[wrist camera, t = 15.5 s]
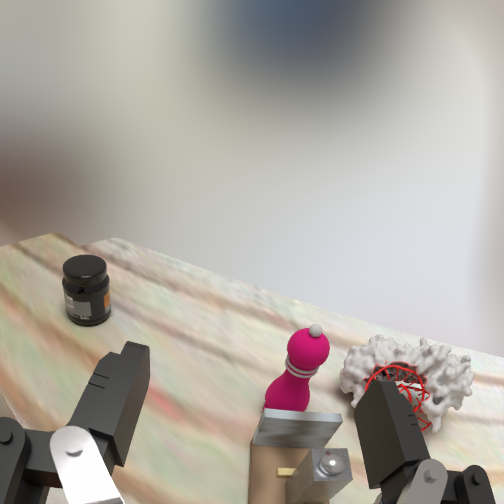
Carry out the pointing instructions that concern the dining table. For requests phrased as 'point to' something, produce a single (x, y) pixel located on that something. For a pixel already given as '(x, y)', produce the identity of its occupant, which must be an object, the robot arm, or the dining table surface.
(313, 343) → the pepper mill
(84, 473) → the robot arm
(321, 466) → the metal square bar
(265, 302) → the dining table surface
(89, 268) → the supplement container
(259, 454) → the wooden base metal fixture
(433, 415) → the lumpy white molecule
